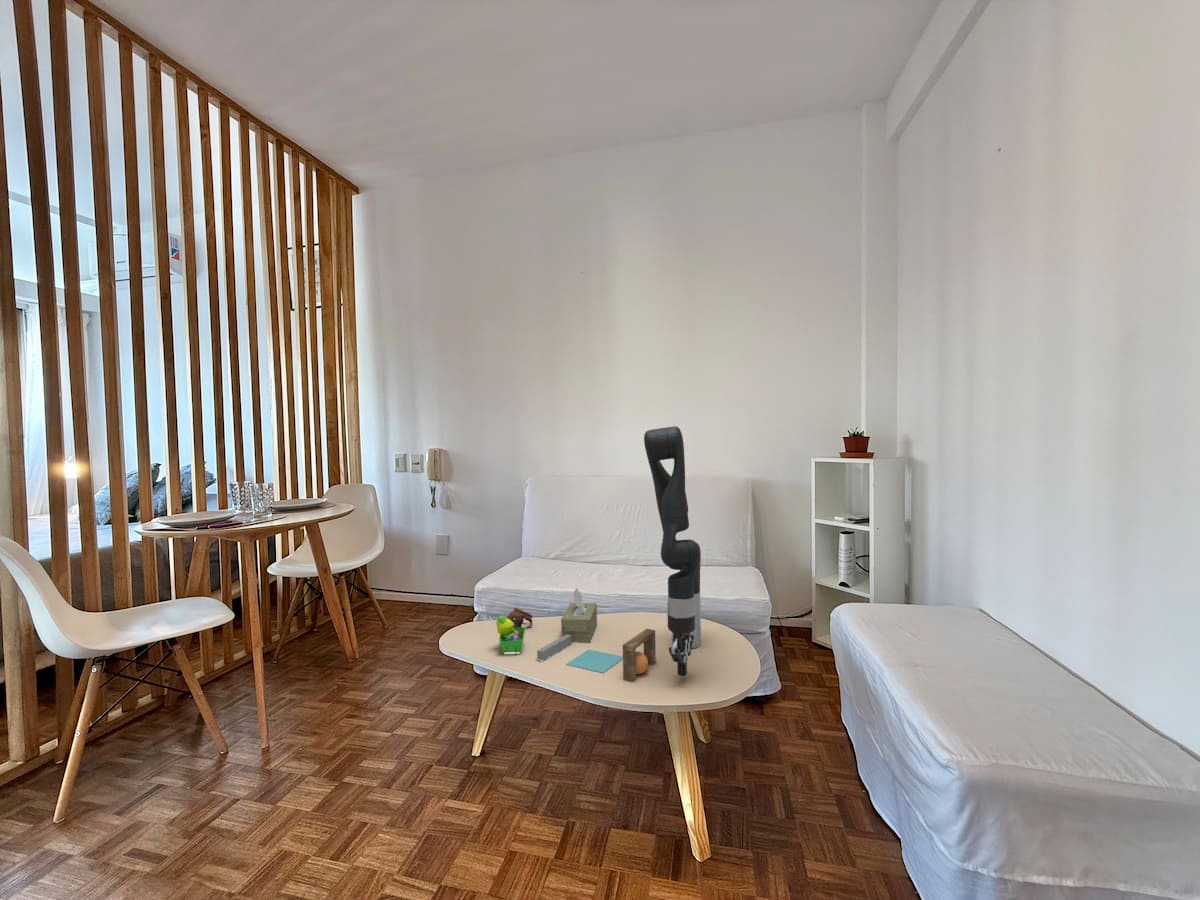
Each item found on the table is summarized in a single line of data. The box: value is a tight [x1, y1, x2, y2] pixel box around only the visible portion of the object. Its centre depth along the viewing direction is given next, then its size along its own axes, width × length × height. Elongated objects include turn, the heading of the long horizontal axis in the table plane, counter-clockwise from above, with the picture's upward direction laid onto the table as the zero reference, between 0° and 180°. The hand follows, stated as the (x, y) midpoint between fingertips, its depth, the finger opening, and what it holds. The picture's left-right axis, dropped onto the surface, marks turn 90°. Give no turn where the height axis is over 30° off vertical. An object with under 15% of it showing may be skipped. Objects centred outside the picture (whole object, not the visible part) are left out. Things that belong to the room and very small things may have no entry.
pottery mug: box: [506, 607, 533, 628], centre depth 192 cm, size 12×10×8 cm
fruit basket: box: [495, 614, 526, 653], centre depth 173 cm, size 11×9×11 cm
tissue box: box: [560, 588, 598, 644], centre depth 187 cm, size 19×10×16 cm, turn 174°
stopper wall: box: [536, 634, 573, 660], centre depth 170 cm, size 16×2×3 cm, turn 149°
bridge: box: [622, 628, 657, 683], centre depth 155 cm, size 3×15×10 cm, turn 149°
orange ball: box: [636, 651, 649, 675], centre depth 153 cm, size 6×6×6 cm
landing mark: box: [566, 648, 623, 674], centre depth 163 cm, size 13×13×1 cm
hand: (682, 674), depth 148 cm, fingers closed
